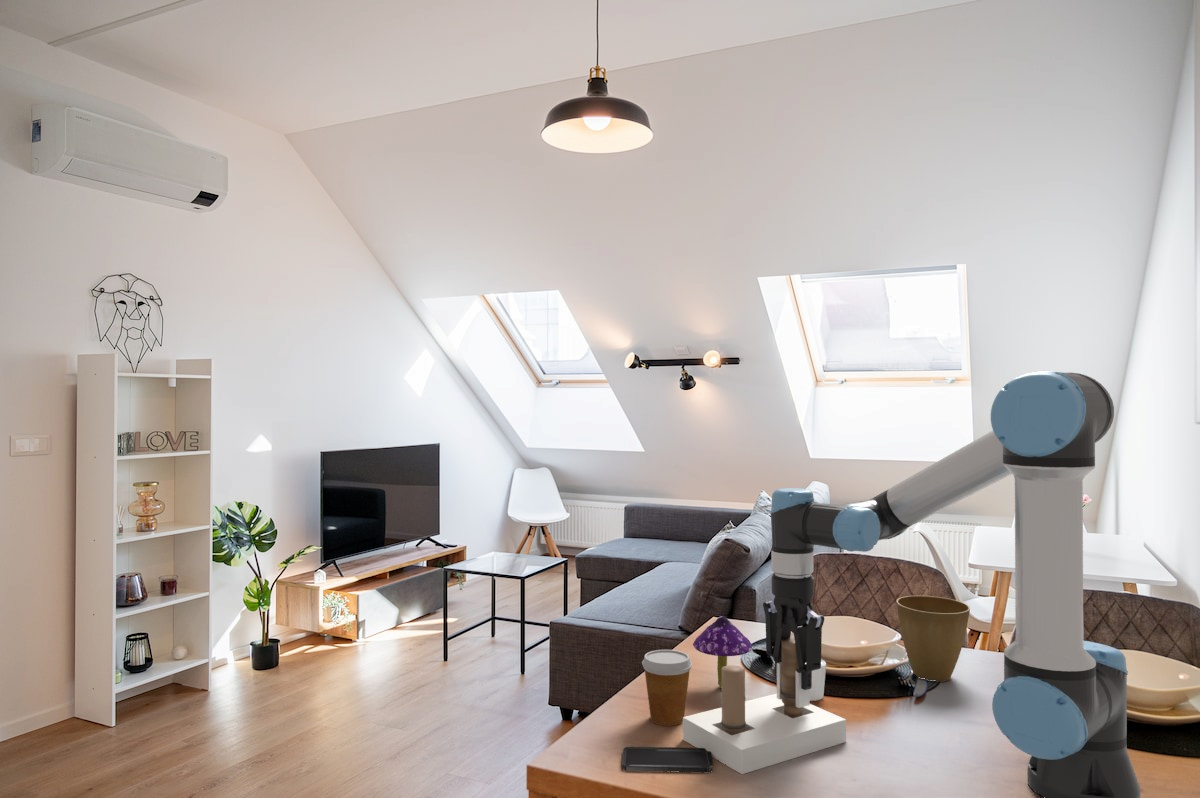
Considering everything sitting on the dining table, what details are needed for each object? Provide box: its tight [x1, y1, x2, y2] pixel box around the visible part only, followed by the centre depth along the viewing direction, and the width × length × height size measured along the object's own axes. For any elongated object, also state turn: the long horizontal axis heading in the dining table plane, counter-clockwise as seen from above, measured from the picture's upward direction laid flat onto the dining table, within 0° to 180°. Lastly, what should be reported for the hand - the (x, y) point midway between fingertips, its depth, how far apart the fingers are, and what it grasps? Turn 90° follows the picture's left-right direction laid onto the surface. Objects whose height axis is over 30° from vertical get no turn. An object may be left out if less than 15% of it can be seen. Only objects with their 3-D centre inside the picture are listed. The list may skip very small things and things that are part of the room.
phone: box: [621, 745, 714, 774], centre depth 140 cm, size 8×1×15 cm
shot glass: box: [805, 659, 827, 702], centre depth 170 cm, size 7×7×7 cm
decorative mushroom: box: [692, 615, 753, 688], centre depth 175 cm, size 12×12×15 cm
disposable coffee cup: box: [641, 649, 693, 727], centre depth 158 cm, size 10×10×12 cm
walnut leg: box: [781, 637, 802, 718], centre depth 151 cm, size 4×4×14 cm
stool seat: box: [682, 665, 847, 775], centre depth 148 cm, size 16×24×14 cm, turn 121°
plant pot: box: [896, 595, 971, 683], centre depth 181 cm, size 15×15×16 cm
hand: (793, 701), depth 151 cm, fingers closed on walnut leg, 4 cm apart
